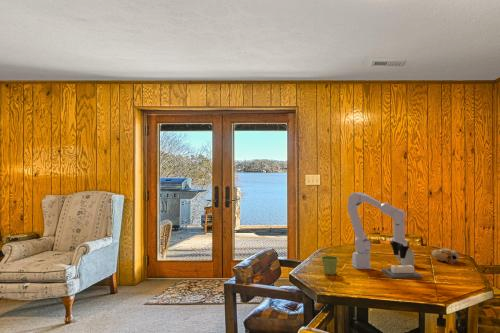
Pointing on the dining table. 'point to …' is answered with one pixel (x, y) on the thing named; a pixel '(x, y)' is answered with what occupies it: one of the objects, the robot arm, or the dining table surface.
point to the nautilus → (445, 255)
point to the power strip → (402, 269)
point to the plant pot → (329, 264)
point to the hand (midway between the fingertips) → (399, 256)
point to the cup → (407, 258)
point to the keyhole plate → (401, 274)
